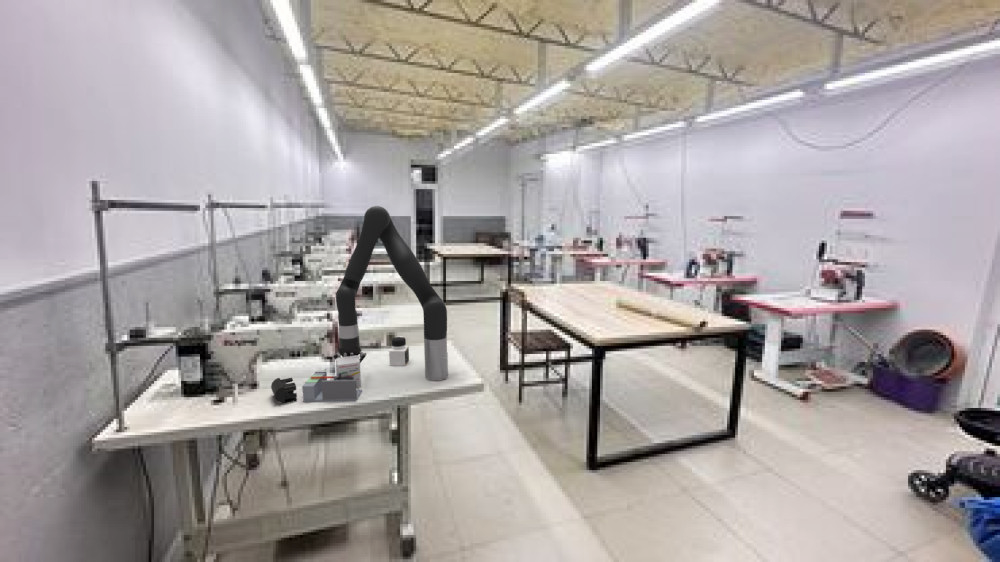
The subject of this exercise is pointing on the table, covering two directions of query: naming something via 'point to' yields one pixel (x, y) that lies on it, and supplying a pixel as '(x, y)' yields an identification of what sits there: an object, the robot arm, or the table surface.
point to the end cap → (284, 390)
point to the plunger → (333, 377)
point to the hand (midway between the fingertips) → (351, 376)
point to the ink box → (349, 368)
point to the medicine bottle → (399, 352)
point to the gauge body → (329, 389)
